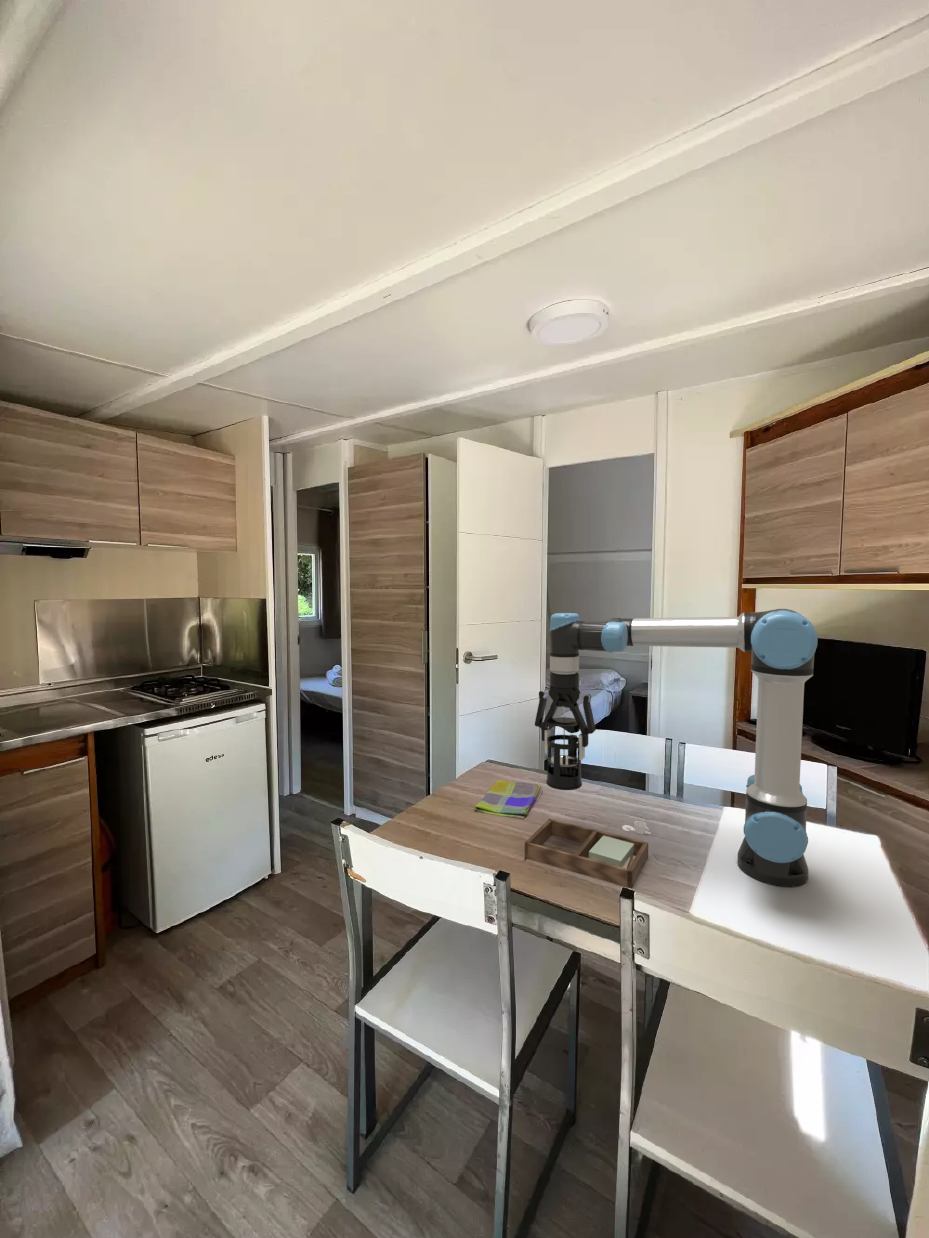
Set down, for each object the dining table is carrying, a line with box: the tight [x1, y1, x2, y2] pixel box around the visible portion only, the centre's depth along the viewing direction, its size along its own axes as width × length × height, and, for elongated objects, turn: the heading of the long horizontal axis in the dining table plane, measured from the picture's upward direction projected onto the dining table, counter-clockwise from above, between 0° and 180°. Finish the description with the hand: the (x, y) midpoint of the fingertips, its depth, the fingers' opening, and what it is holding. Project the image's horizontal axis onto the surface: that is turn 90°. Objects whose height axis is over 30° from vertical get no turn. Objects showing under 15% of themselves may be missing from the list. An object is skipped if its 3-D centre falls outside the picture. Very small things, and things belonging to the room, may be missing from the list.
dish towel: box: [474, 780, 543, 820], centre depth 174 cm, size 18×24×3 cm
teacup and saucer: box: [621, 820, 652, 836], centre depth 149 cm, size 9×8×4 cm
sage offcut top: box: [588, 835, 634, 867], centre depth 132 cm, size 8×10×2 cm
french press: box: [546, 699, 583, 791], centre depth 141 cm, size 12×9×23 cm
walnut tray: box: [524, 818, 649, 889], centre depth 135 cm, size 27×16×5 cm, turn 58°
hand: (564, 755), depth 141 cm, fingers closed on french press, 9 cm apart
